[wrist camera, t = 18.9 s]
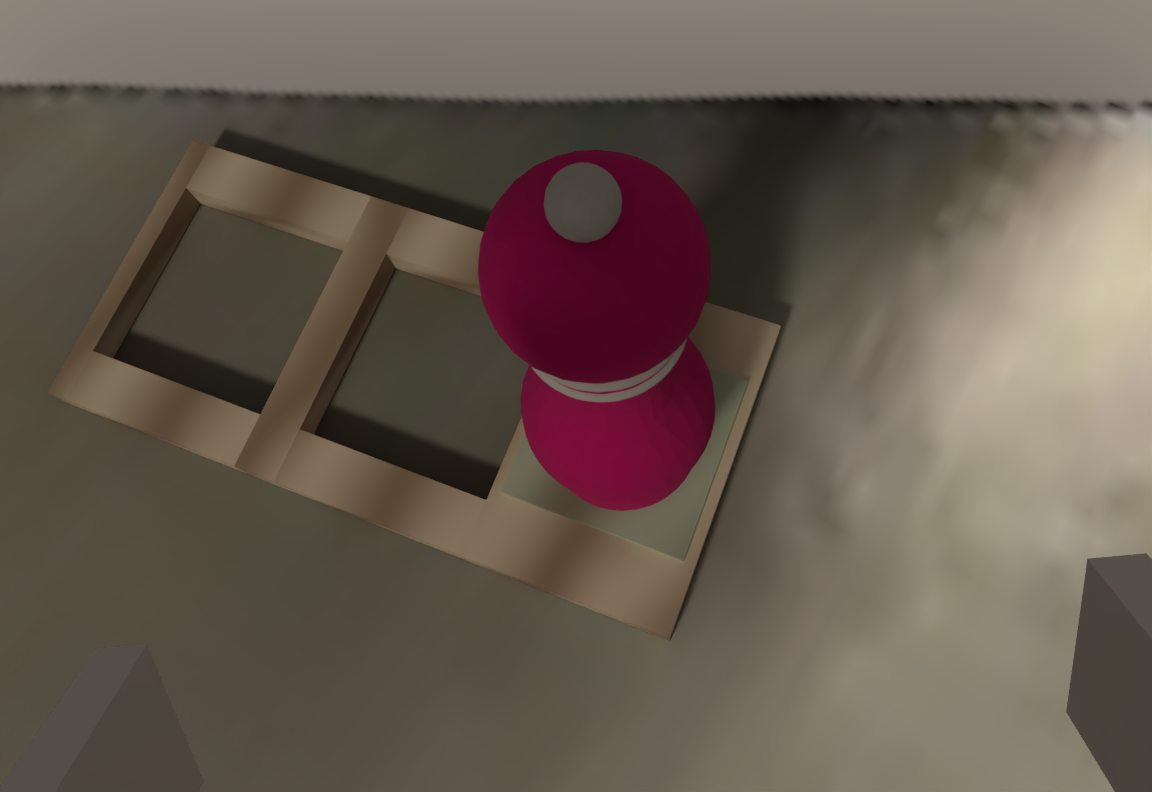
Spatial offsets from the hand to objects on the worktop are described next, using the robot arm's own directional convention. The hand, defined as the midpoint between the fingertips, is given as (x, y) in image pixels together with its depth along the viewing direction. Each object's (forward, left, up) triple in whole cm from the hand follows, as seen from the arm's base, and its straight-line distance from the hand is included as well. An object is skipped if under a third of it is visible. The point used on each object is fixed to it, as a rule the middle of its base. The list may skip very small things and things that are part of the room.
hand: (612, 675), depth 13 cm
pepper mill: (-5, +9, -24) cm, 26 cm away
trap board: (-15, +9, -26) cm, 31 cm away
